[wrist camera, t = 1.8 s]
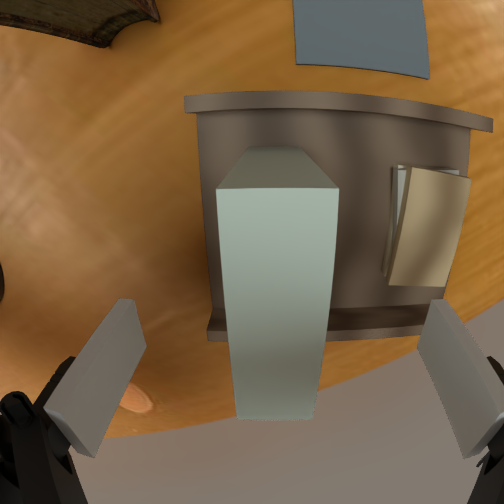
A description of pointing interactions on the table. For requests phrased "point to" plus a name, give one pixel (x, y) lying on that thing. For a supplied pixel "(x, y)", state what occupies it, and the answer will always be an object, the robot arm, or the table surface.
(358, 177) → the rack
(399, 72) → the mat
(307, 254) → the upright sage slab
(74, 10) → the book
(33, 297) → the table surface
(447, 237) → the offcut oak
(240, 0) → the table surface
